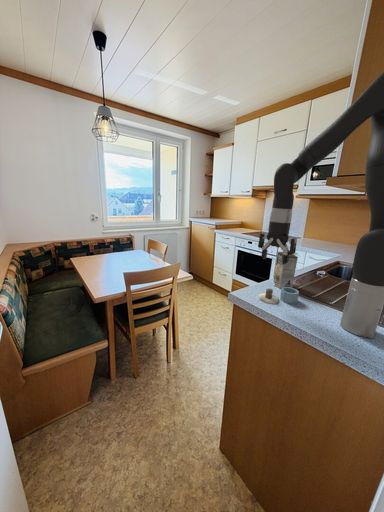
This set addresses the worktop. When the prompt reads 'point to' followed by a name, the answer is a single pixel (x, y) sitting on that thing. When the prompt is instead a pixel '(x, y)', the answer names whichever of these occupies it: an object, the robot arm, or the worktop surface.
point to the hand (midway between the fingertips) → (273, 261)
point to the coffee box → (285, 270)
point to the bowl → (289, 295)
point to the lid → (268, 297)
